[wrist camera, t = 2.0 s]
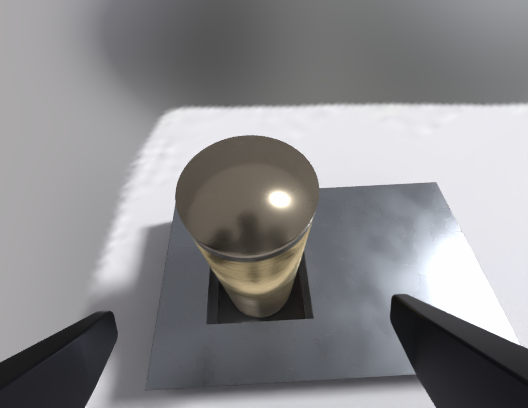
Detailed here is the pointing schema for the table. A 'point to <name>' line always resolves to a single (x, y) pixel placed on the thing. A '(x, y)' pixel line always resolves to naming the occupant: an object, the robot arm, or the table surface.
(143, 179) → the table surface
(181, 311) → the plate
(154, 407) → the table surface
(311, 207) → the gold metal can
